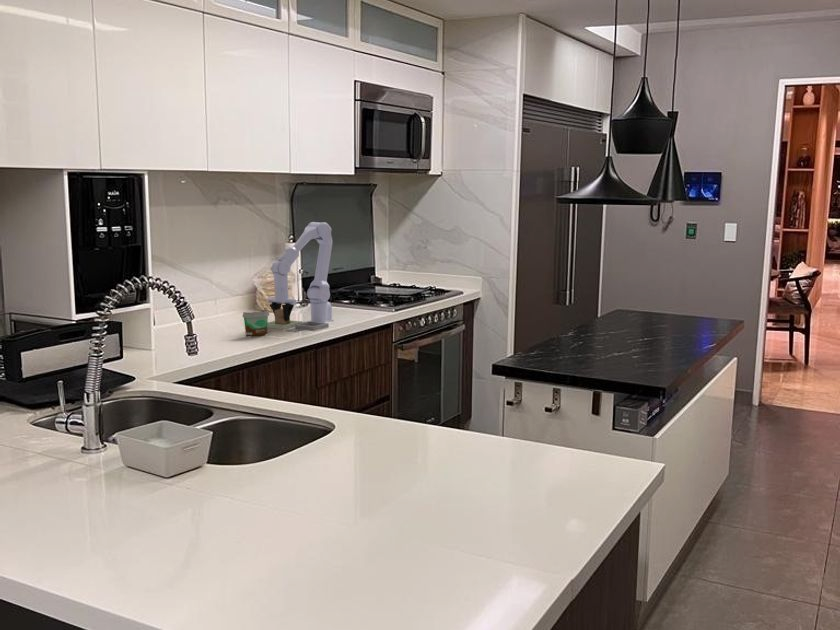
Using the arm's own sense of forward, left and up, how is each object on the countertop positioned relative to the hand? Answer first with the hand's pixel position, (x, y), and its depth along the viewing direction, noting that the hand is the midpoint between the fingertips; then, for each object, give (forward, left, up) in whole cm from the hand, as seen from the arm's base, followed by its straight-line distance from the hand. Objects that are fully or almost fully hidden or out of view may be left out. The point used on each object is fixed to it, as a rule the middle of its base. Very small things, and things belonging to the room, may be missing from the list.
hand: (282, 320), depth 357 cm
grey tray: (-2, +14, -3) cm, 14 cm away
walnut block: (0, 0, -2) cm, 2 cm away
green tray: (0, 0, -3) cm, 3 cm away
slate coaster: (+7, +12, -3) cm, 14 cm away
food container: (+20, +5, -3) cm, 21 cm away
